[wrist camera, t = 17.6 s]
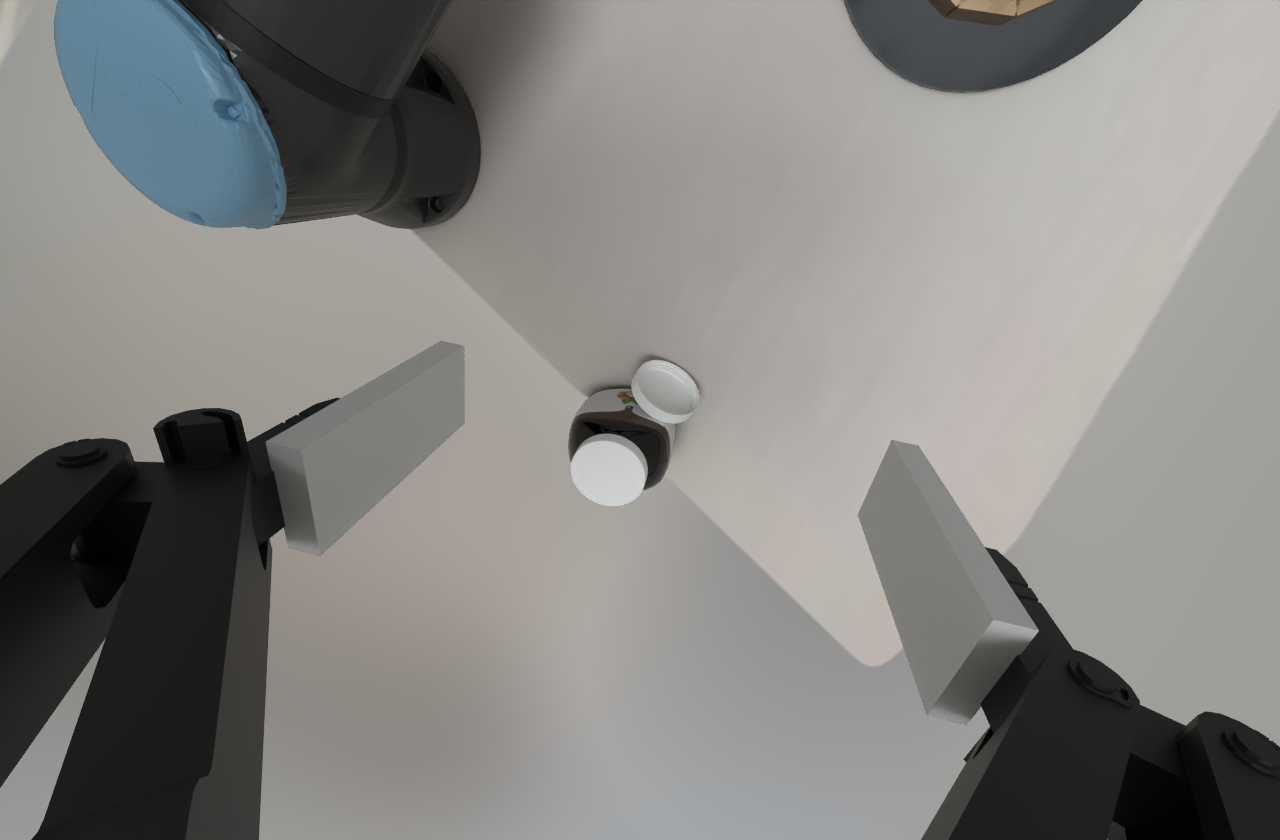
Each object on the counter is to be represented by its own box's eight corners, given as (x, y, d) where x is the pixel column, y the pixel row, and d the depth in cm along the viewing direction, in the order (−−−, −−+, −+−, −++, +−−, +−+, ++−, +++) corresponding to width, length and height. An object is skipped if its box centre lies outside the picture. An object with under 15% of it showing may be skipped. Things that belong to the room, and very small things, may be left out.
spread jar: (586, 441, 57) (552, 500, 47) (589, 345, 52) (552, 389, 42) (691, 458, 56) (680, 523, 46) (705, 361, 51) (697, 410, 40)
